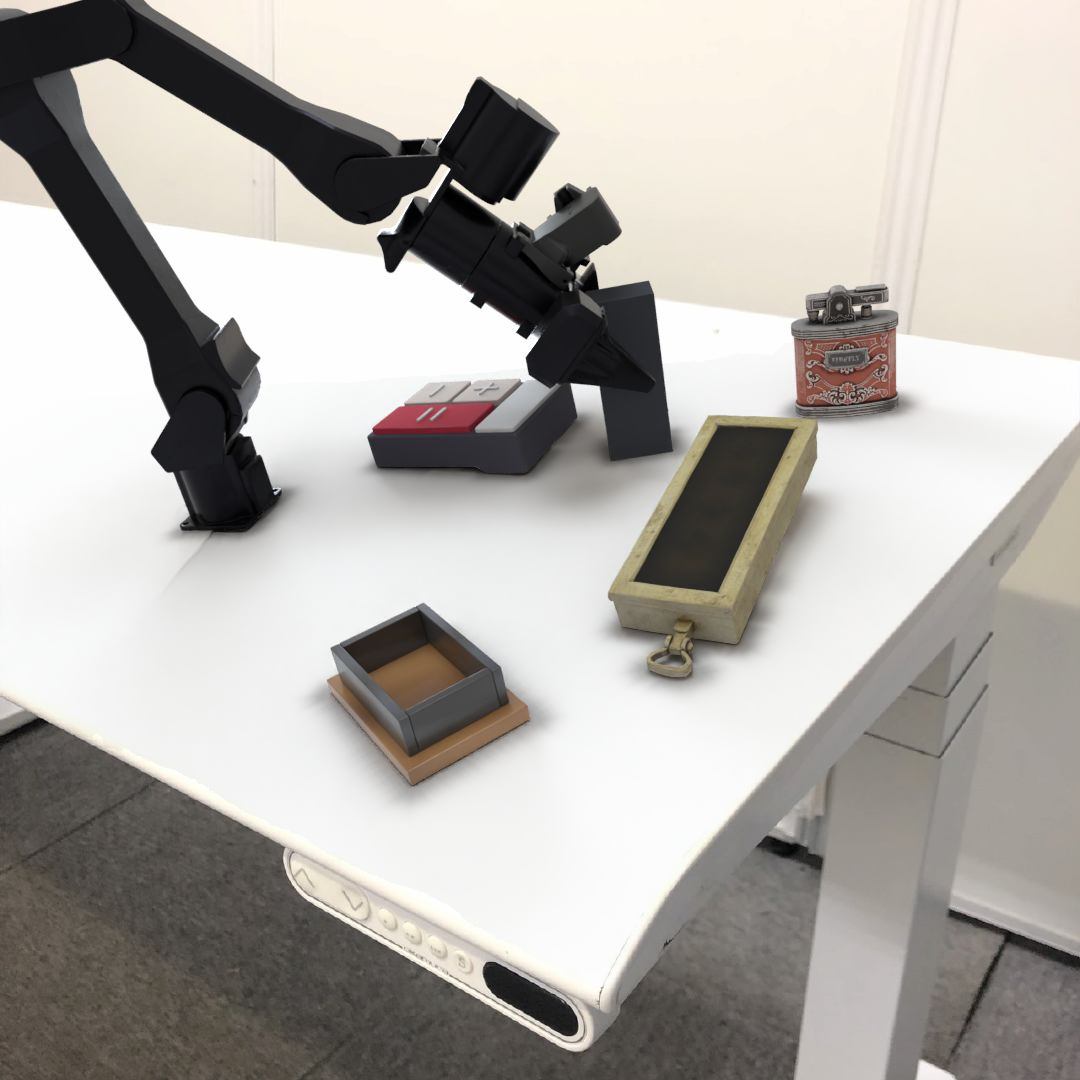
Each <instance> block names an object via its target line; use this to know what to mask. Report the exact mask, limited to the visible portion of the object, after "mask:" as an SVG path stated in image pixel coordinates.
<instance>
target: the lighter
mask: <svg viewBox="0 0 1080 1080" xmlns="http://www.w3.org/2000/svg"><path fill="white" fill-rule="evenodd" d="M889 291H890V288H889V286H887V285H886V283H877V284H868V285H859V286H855V288H852V289H846V287H845V286H844V285H841V284H836V285H833V286H830V287H829V290H828V291H826V292H817V293H809V294H806V295H805V310H806V316H807V317H803V318H798V319H796V320H794V321H792V322H791V324H790V334H791V336H792V337H793V348H794V349H793V350H794V351H793V352H794V368H795V386H796V399H795V401H794V406H795V407H794V410H795V414H796V415H797V416H799V417H800V418H809V419H816V418H819V419H820V418H841V417H852V416H860V415H862V416H863V415H869V414H876V413H881V412H888V411H892V410H895V409H896V408H897V407H899V392H898V391H897V327H898V326H899V313H898V311H896V310H892V309H873V306H872V305H879V304H887V303H889V299H890V297H889V295H890V294H889ZM854 307H860V310H855V309H854ZM820 311H822V313H821V314H820Z"/></svg>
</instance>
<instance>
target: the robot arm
mask: <svg viewBox="0 0 1080 1080" xmlns="http://www.w3.org/2000/svg"><path fill="white" fill-rule="evenodd" d="M105 60H111V61H113V62H116V63H118V64H119V65H121V66H123V67H125V68H127V69H128V70H130V71H132V72H133V73H135V74H137V75H138V76H140V77H142V78H143V79H145V80H147V81H148V82H150V83H152V84H154V85H155V86H157V87H158V88H160V89H162V90H164V91H165V92H167V93H168V94H171V95H172V96H173V97H175V98H177V99H179V100H181V101H182V102H184V103H185V104H187V105H189V106H190V107H192V108H193V109H196V110H197V111H199V112H201V113H202V114H204V115H206V116H208V117H209V118H211V119H213V120H214V121H216V122H218V123H219V124H220V125H223V126H224V127H226V128H227V129H229V130H231V131H232V132H234V133H236V134H238V135H239V136H241V137H243V138H245V140H248V141H250V142H251V143H252V144H255V145H256V146H258V147H260V148H261V149H263V150H265V151H266V152H267V153H269V154H270V155H271V156H272V157H274V158H275V159H276V160H278V162H279V163H281V164H282V165H283V166H284V167H285V168H286V169H287V170H288V171H289V173H290V174H291V175H292V176H293V177H294V178H295V179H296V180H297V181H298V182H299V184H300V185H301V186H302V187H303V188H304V189H306V190H307V191H308V192H309V193H310V194H311V195H313V196H314V197H315V198H316V199H317V200H318V201H320V202H321V203H322V204H324V205H325V206H326V207H327V208H328V209H329V210H331V211H332V213H334V214H335V215H337V216H338V217H339V218H341V219H342V220H344V221H346V222H349V223H351V224H354V225H360V226H366V225H370V224H375V223H380V222H382V221H383V220H385V219H386V218H389V216H391V215H392V214H393V213H394V212H395V210H397V208H398V206H399V205H400V204H401V202H402V199H403V198H405V197H407V196H410V195H412V194H414V193H416V192H419V191H422V190H424V189H426V188H428V187H429V186H430V184H431V182H432V180H433V179H434V178H435V175H436V174H437V173H438V170H439V169H440V168H441V166H442V165H444V166H445V167H447V168H448V169H447V170H446V172H445V174H444V175H443V177H442V178H441V180H440V182H439V183H438V185H437V186H436V188H435V190H433V192H432V194H431V196H430V197H429V199H428V198H426V197H424V196H420V195H419V196H418V195H417V196H416V195H415V196H413V197H412V198H411V200H410V202H409V204H408V205H407V206H406V208H405V209H404V211H403V213H402V215H401V216H400V218H399V219H398V221H397V223H396V225H395V226H393V227H389V228H381V229H380V230H379V232H378V234H377V236H376V241H377V243H378V245H379V247H380V249H381V252H382V257H383V263H384V270H385V272H387V273H389V274H394V273H395V271H397V268H399V265H400V264H401V262H402V260H403V259H404V257H405V256H406V254H407V253H410V254H411V255H413V256H414V257H416V258H417V259H419V260H420V261H422V262H423V263H425V264H426V265H427V266H429V267H430V268H432V269H434V270H435V271H436V272H437V273H440V274H441V275H443V276H444V277H445V278H447V279H448V280H450V281H451V282H453V283H454V284H455V285H457V286H459V287H460V288H462V289H463V290H465V291H466V292H468V293H469V294H470V296H469V303H471V304H472V305H474V306H475V307H477V308H478V309H479V310H482V308H483V307H484V305H487V306H488V307H490V308H491V309H493V310H494V311H496V312H497V313H499V314H500V315H501V316H503V317H505V318H506V319H508V320H509V321H511V322H512V323H513V324H515V333H516V334H517V335H519V336H520V337H521V338H523V339H525V342H524V343H525V344H524V349H525V351H524V352H525V353H524V354H525V355H524V356H525V357H524V358H525V363H526V369H527V375H528V376H530V377H531V378H532V379H533V380H537V381H539V382H540V383H542V384H543V385H545V386H546V387H548V388H549V389H551V388H552V387H554V386H555V385H556V383H557V384H559V385H563V384H564V383H571V385H572V384H573V385H583V386H591V387H592V386H594V387H599V386H600V387H608V388H615V389H621V390H628V391H635V392H641V393H649V392H650V391H651V390H652V389H653V387H654V386H655V385H656V381H655V379H654V378H653V377H652V376H651V375H650V374H649V373H648V372H647V371H646V370H645V369H644V368H643V367H642V366H641V365H640V364H639V363H638V362H637V361H636V360H635V359H634V358H633V357H632V356H631V355H630V354H629V353H628V352H627V351H626V350H624V349H623V348H622V347H621V346H620V345H619V344H618V343H617V342H616V341H615V340H614V339H613V338H612V337H611V336H610V335H609V331H608V322H607V317H606V312H605V308H604V306H602V307H601V309H600V307H599V306H598V305H597V304H596V303H595V302H594V301H593V300H592V299H591V298H590V297H589V296H587V295H586V294H585V292H586V291H592V290H597V289H600V286H599V278H598V272H597V268H596V264H595V262H591V257H590V255H591V254H592V253H594V252H595V251H597V250H599V249H600V248H601V247H603V246H604V247H605V246H609V245H610V244H611V243H613V242H614V241H616V240H617V239H618V238H619V237H620V236H621V235H622V232H623V230H622V227H621V226H620V221H619V220H618V218H617V217H616V216H615V215H616V214H615V213H614V212H613V210H612V209H611V207H610V206H609V203H607V201H606V200H605V198H604V196H603V195H602V194H601V192H600V190H599V189H598V188H597V186H593V187H592V186H591V185H589V186H588V187H587V188H586V191H584V190H583V189H580V188H579V187H578V186H576V185H574V184H572V183H570V182H567V183H566V184H564V185H563V186H561V187H560V188H558V189H557V190H556V191H555V192H553V194H552V195H553V203H554V204H553V205H554V211H555V213H553V214H549V215H548V216H547V217H546V220H545V221H544V222H542V223H541V224H540V225H538V226H537V227H535V228H534V229H532V228H531V227H529V226H527V225H526V224H525V223H524V222H521V221H519V222H518V223H516V221H513V223H512V224H511V225H510V224H509V223H507V222H506V221H504V220H502V218H500V217H499V216H498V215H496V214H494V213H493V212H492V211H490V210H488V209H487V208H486V207H485V206H483V205H481V204H480V203H478V202H477V201H476V200H474V199H473V198H472V197H470V196H468V194H466V193H464V191H462V190H460V189H459V188H458V187H456V186H455V185H453V184H452V182H453V180H454V181H455V182H456V183H458V184H459V185H461V187H463V188H464V189H465V190H466V191H468V192H469V193H470V194H472V196H474V197H476V198H478V199H479V200H481V201H482V202H484V203H486V204H488V205H491V206H496V205H497V204H501V202H502V201H503V199H505V200H508V201H511V202H515V201H517V199H518V198H519V196H520V195H521V193H522V192H523V190H524V189H525V187H526V186H527V184H528V183H529V181H530V180H531V178H532V176H533V175H534V174H535V172H536V171H537V169H538V168H539V166H540V165H541V163H542V161H544V159H545V157H546V155H548V153H549V151H550V150H551V148H552V147H553V145H554V144H555V142H556V141H557V139H558V138H559V136H560V135H561V132H560V131H559V130H558V128H557V127H556V126H555V125H554V124H553V123H552V122H551V121H550V120H549V119H547V118H546V117H545V116H544V115H542V114H541V113H540V112H539V111H537V110H536V109H535V108H534V107H532V106H531V105H530V104H529V103H527V102H526V101H524V100H523V99H522V98H520V97H518V98H515V97H514V96H512V95H511V94H509V93H508V92H506V91H505V90H503V89H502V88H500V87H498V86H496V85H494V84H492V83H491V82H490V81H488V80H487V79H485V78H484V77H483V76H476V78H475V79H474V81H473V82H472V84H471V86H470V87H469V89H468V91H467V93H466V96H465V99H464V102H463V104H462V106H461V108H460V109H459V111H458V113H457V114H456V116H455V117H454V119H453V121H452V122H451V124H450V125H449V127H448V129H447V131H446V132H445V134H444V135H443V137H437V138H436V137H435V138H429V137H428V136H427V137H426V138H411V139H410V138H409V139H408V138H407V139H399V138H398V137H397V136H396V135H394V134H393V133H392V132H390V131H388V130H386V129H384V128H381V127H379V126H376V125H374V124H371V123H370V122H366V121H365V120H362V119H358V118H357V117H354V116H352V115H349V114H347V113H344V112H340V111H337V110H333V109H330V108H326V107H323V106H320V105H317V104H315V103H312V102H309V101H307V100H304V99H303V98H300V97H297V96H296V95H294V94H293V93H291V92H290V91H288V90H286V88H283V87H281V86H280V85H278V84H277V83H275V82H274V81H272V80H270V79H269V78H267V77H265V76H264V75H261V74H260V73H258V72H257V71H255V70H254V69H252V68H250V67H249V66H247V65H246V64H244V63H242V62H241V61H239V60H238V59H236V58H234V57H233V56H231V55H229V53H226V52H225V51H223V50H221V49H219V48H218V47H216V46H215V45H213V44H212V43H210V42H209V41H206V40H205V39H204V38H202V37H200V36H198V35H197V34H195V33H194V32H192V31H191V30H189V29H187V28H185V27H184V26H182V25H181V24H179V23H178V22H175V21H174V20H173V19H171V18H169V17H168V16H166V15H164V14H163V13H161V12H159V11H158V10H156V9H154V8H153V7H152V6H151V5H150V4H149V3H148V2H146V1H145V0H76V1H73V2H70V3H69V2H68V3H66V4H62V5H58V6H54V7H53V6H52V7H49V8H46V9H42V10H37V11H33V12H30V13H29V12H27V11H25V10H22V9H19V8H12V7H10V8H9V7H2V8H0V142H2V143H3V144H4V145H5V146H7V147H9V149H11V150H12V151H13V152H15V153H16V154H17V155H19V156H20V157H21V158H22V159H23V160H24V161H25V162H26V163H27V164H28V166H29V167H30V169H31V170H32V172H33V174H34V175H35V177H36V178H37V179H38V181H39V182H40V184H41V185H42V187H43V188H44V190H45V191H46V193H47V195H48V196H49V198H50V199H51V200H52V202H53V203H54V205H55V207H56V208H57V210H58V211H59V213H60V214H61V216H62V218H63V219H64V220H65V222H66V224H67V225H68V226H69V228H70V229H71V231H72V232H73V234H74V235H75V237H76V238H77V240H78V242H79V243H80V245H81V246H82V247H83V249H84V251H85V252H86V254H87V255H88V257H89V258H90V260H91V261H92V263H93V264H94V266H95V267H96V269H97V270H98V272H99V273H100V275H101V277H102V278H103V280H104V281H105V283H106V284H107V285H108V288H109V289H110V290H111V292H112V293H113V295H114V296H115V298H116V299H117V301H118V302H119V304H120V305H121V307H122V308H123V310H124V311H125V313H126V315H127V317H128V318H129V319H130V321H131V322H132V324H133V325H134V327H135V328H136V330H137V331H138V333H139V335H140V336H141V337H142V339H143V342H144V344H145V348H146V352H147V358H148V361H149V366H150V367H149V368H150V370H151V371H150V373H151V375H152V381H153V384H154V386H155V389H156V391H157V393H158V395H159V397H160V400H161V402H162V404H163V406H164V408H165V410H166V413H167V415H168V417H169V419H168V421H167V422H166V424H165V426H164V427H163V429H162V431H161V432H160V434H159V436H158V438H157V439H156V441H155V443H154V444H153V446H152V448H150V449H151V450H150V454H151V456H152V458H153V459H154V460H155V461H156V462H157V463H158V464H159V466H160V467H161V468H162V469H163V470H164V472H166V473H167V474H171V473H173V476H174V478H175V481H176V484H177V486H178V489H179V491H180V494H181V496H182V500H183V502H184V504H185V507H186V509H187V512H188V516H187V517H186V519H184V520H183V521H182V522H181V523H180V524H179V528H180V531H182V532H216V531H217V532H224V531H226V532H227V531H228V532H230V531H231V532H232V531H233V532H235V531H237V532H238V531H239V532H240V531H246V530H248V529H249V528H250V527H251V526H252V525H253V524H254V523H255V522H256V521H257V520H258V519H259V518H260V517H261V516H262V515H263V514H264V513H265V512H266V511H267V510H268V509H270V507H271V506H272V505H273V504H274V503H275V502H276V501H277V500H278V499H279V498H280V497H281V496H282V495H283V491H282V488H281V487H273V485H272V482H271V479H270V476H269V474H268V470H267V468H266V465H265V462H264V459H263V456H262V455H261V454H259V453H257V450H256V447H255V444H254V441H253V438H252V436H251V435H244V434H243V433H241V431H242V429H243V428H244V426H245V425H246V424H247V423H248V422H249V411H250V410H251V408H252V406H253V405H254V404H255V401H256V400H257V399H258V397H259V392H260V389H261V384H262V379H261V373H260V371H259V368H258V366H257V365H258V364H259V362H260V361H261V356H260V355H258V353H256V352H255V351H253V349H252V348H251V347H250V345H248V343H247V341H246V339H245V337H244V335H243V332H242V330H241V328H240V325H239V323H238V321H237V320H236V319H235V318H234V317H233V316H229V317H228V318H227V319H226V320H225V321H223V322H221V323H220V324H219V323H217V322H216V321H215V320H213V319H212V318H211V317H210V316H208V315H207V314H206V313H204V312H203V311H202V310H200V309H199V307H198V306H197V305H196V304H195V301H194V300H193V299H192V297H191V296H190V294H189V293H188V291H187V290H186V288H185V286H184V285H183V283H182V281H181V280H180V278H179V277H178V275H177V274H176V271H175V270H174V268H173V267H172V265H171V264H170V263H169V260H168V258H167V257H166V256H165V254H164V253H163V250H162V249H161V248H160V246H159V244H158V243H157V241H156V240H155V238H154V236H153V235H152V233H151V231H150V230H149V228H148V227H147V225H146V223H145V222H144V220H143V219H142V217H141V215H140V214H139V213H138V210H137V209H136V207H135V206H134V204H133V202H132V201H131V199H130V198H129V196H128V195H127V193H126V191H125V190H124V188H123V187H122V184H121V183H120V182H119V180H118V179H117V176H116V175H115V174H114V172H113V171H112V169H111V168H110V166H109V164H108V162H107V161H106V159H105V157H104V156H103V154H102V153H101V151H100V150H99V148H98V146H97V145H96V143H95V141H94V140H93V138H92V136H91V135H90V133H89V130H88V128H87V124H86V121H85V116H84V111H83V106H82V101H81V97H80V92H79V89H78V84H77V82H76V80H75V78H74V75H73V73H72V70H74V69H76V68H80V67H83V66H87V65H91V64H95V63H97V62H102V61H105ZM580 266H583V267H585V268H586V269H585V270H584V272H583V273H582V274H580V273H578V272H577V270H578V269H579V267H580ZM600 387H599V388H600Z"/></svg>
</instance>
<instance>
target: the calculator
mask: <svg viewBox="0 0 1080 1080" xmlns="http://www.w3.org/2000/svg"><path fill="white" fill-rule="evenodd" d="M577 419H578V412H577V407H576V402H575V397H574V392H573V388H572V383H564V384H563V385H559V384H557V383H556V385H555V386H554V387H552V388H551V389H549V388H548V387H546V386H545V385H543V384H542V383H540V382H539V381H537V380H536V379H528V380H525V381H522V379H521V378H498V379H478V380H475V381H474V382H473V383H472V381H471V380H457V381H456V380H455V381H454V380H453V381H435V382H434V381H433V382H428V383H426V384H425V385H424V386H423V387H421V388H420V389H419V390H417V391H416V392H415V393H413V394H412V395H411V396H410V397H409V398H407V399H406V400H405V401H404V402H403V405H400V406H398V407H396V408H395V409H394V410H392V412H390V413H389V414H387V415H386V416H385V417H383V418H382V419H381V420H380V421H378V422H377V423H376V424H375V425H373V427H372V428H371V430H372V431H371V432H370V433H369V434H367V436H366V439H367V442H368V444H369V447H370V451H371V454H372V457H373V460H374V463H375V466H376V467H378V468H477V469H479V470H481V471H483V472H484V473H486V474H525V473H528V472H529V471H530V470H531V469H532V467H534V466H535V464H537V463H538V461H539V460H540V459H541V458H542V457H543V456H544V455H545V454H546V453H547V452H548V450H550V448H552V446H553V445H554V444H555V443H556V442H557V441H558V440H559V439H560V438H561V436H562V435H563V434H564V433H565V432H566V431H567V430H568V429H569V428H570V427H571V426H572V424H573V423H575V421H577Z"/></svg>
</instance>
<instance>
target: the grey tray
mask: <svg viewBox="0 0 1080 1080" xmlns="http://www.w3.org/2000/svg"><path fill="white" fill-rule="evenodd" d="M329 649H330V652H331V655H332V658H333V661H334V664H335V667H336V670H337V674H335V675H333V676H331V677H329V678H327V679H326V682H327V685H328V689H329V691H330V693H331V694H332V695H333V696H334V698H335V699H336V700H337V701H338V702H339V704H340V705H341V706H342V707H343V708H344V709H345V710H346V711H347V713H348V714H349V715H350V716H351V717H352V718H353V720H354V721H355V722H357V724H358V725H359V726H360V728H361V729H362V730H363V731H364V732H365V733H366V735H367V736H368V737H369V738H370V740H372V741H373V743H374V744H375V745H376V746H377V747H378V748H379V750H380V751H381V752H382V753H383V754H384V755H385V756H386V757H387V759H388V760H389V761H390V763H392V765H393V766H394V767H395V768H396V769H397V770H398V771H399V773H400V774H401V775H402V776H403V777H404V778H405V780H406V781H407V782H408V783H409V784H410V785H411V786H415V785H416V784H418V783H420V782H421V781H423V780H425V779H427V778H428V777H431V776H432V775H434V774H436V773H437V772H439V771H441V770H443V769H444V768H446V767H448V766H450V765H451V764H453V763H455V762H457V761H458V760H460V759H462V758H464V757H465V756H467V755H469V754H471V753H473V752H475V751H476V750H479V749H480V748H481V747H483V746H485V745H487V744H489V743H490V742H492V741H493V740H496V739H497V738H499V737H501V736H502V735H504V734H506V733H508V732H510V731H512V730H513V729H515V728H517V727H518V726H520V725H522V724H524V723H526V722H527V721H529V720H531V716H530V712H529V706H528V705H527V704H526V703H525V702H524V701H523V700H522V699H520V698H519V697H518V696H517V695H516V694H515V693H514V692H512V691H511V690H510V689H509V688H508V687H507V686H506V683H505V678H504V674H503V669H502V666H501V665H499V664H498V663H497V662H496V661H494V660H493V659H492V658H491V657H490V656H489V655H488V654H487V653H486V652H484V651H483V650H481V649H480V648H479V647H478V646H477V645H475V644H474V643H473V642H472V641H471V640H469V639H468V638H467V637H466V636H465V635H464V634H462V633H461V632H459V630H457V628H455V627H454V626H453V625H451V624H450V623H449V622H448V621H446V620H445V619H444V618H443V617H442V616H441V615H439V614H438V613H437V612H436V611H435V610H433V608H431V607H430V606H428V605H427V603H425V602H422V603H419V604H417V605H415V606H413V607H411V608H409V609H407V610H404V611H403V612H400V613H399V614H397V615H394V616H392V617H390V618H388V619H386V620H384V621H382V622H380V623H377V624H376V625H373V626H372V627H370V628H367V629H366V630H364V631H362V632H359V633H357V634H356V635H353V636H351V637H349V638H347V639H345V640H343V641H341V642H339V643H337V644H335V645H333V646H330V648H329Z"/></svg>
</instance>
